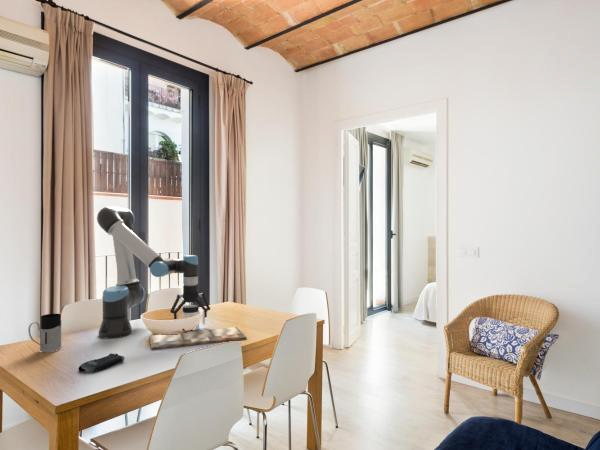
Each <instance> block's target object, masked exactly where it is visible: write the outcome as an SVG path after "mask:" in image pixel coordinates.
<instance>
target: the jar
mask: <svg viewBox="0 0 600 450" xmlns="http://www.w3.org/2000/svg"><path fill="white" fill-rule="evenodd" d="M199 309H200V308H199V305H197V304H187V305H183V306H182V311H181V319H182V318H187V317H192V316H196V315H197V314H199V315H200V311H199ZM199 329H200V323H199V324H198V325H197V326H196V328H195V329H194V330H193V331H198V330H199Z"/></svg>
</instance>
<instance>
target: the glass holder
mask: <svg viewBox="0 0 600 450" xmlns="http://www.w3.org/2000/svg"><path fill="white" fill-rule="evenodd" d="M34 324H36V326H37V330H38V331H40V332H39V334H40V335H39V342H37V341H36V340H35V339H34V338H33V336H32V335H31V328H32V325H34ZM28 336H29V337H30V339H31V341H32V342H34V343H35V344H36V345H38V346H39V350H40V351H42V352H50V353H53V352H52V351H55V352H57V351H56V350H59V351H61V350H62V349H63V346H62V314H61V313H47V314H42V315H41V316H40V324H39V323H38V322H37V321H34V322H31V323H30V324H29V326H28ZM61 348H62V349H61ZM60 349H61V350H60Z"/></svg>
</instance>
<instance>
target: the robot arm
mask: <svg viewBox="0 0 600 450" xmlns="http://www.w3.org/2000/svg"><path fill="white" fill-rule="evenodd" d="M96 219H97V223H98V225H99V227H100V228H101V229H102V230H103V231H104V232H105V233H106V234H108V236H111V237H112V240H113V248H114V249H113V250H114V254H115V262H116V269H117V277H118V281H117V283H116V284H115V285H114V286H109V287H106V288H105V289H104V290H103V291H102V297H101V298H102V321H101V324H100V327H99V329H98V337H99V338H101V337H102V338H101V339H117V338H123V337H127V336H129V335H131V334H132V333H133V327H132V325H131V321H130V319H129V309H131V308H135V307H137V306H139V305H140V304H141V303H142V302H143V301H144V300H145V297H146V291H145V289H144V287H143V286H142V285H141V282H140V280H139V278H137V274H136V268H135V261H134V256H135V257H136V258H138V260H140V261H141V262H142V263H144V265H145V266H146V267H148V268H149V271H150V273H151V275H152V276H153V277H155V278H160V277H161V278H162V277H165V276H167V275H172V274H183V276H182V278H183V280H182V284H183V286H182V290H183V292H182V294H179V293H177V295H176V299H175V300H174V302H173V305H172V306H171V309H170V313H171V314H173V320H174V319H178V320H179V313H178V312H179V311H180V310H181V309H182V308H183V306H185V304H186V303H187V304H188V303H189V304H190V303H195V302H196V303H197V304H198V306H199V307H200V308H201V309H202V324H203V325H205V324H206V323H205V321H206V319H205V318H207V316H208V315H207V314H208V311H210V310H211V307H210V306H209V303H208V301H207V299H206V298H205V293H204V292H201V293H199V257H198V255H195V254H191V255H190V254H186V255H183V256H182V257H183V258H162V256H160V255H159V254H158V253H157V252H156V251H155V250H154V249H153V248H151V247H150V246H149V245H148V244H147V243H146V242H145V241H144V240H143V239H141V238H140V237H139V236H138V235H137V234H136V233H135V232H133V225H134V224H135V221H136V217H135V214H134V213H133V212H132V210H131V209H129V208H127V207H122V206H105V207H103V208H101V209H100V210H99V211H98V212H97V216H96ZM199 297H200V298H201V299H202V301H203V303H204V305H205V306H204V305H203V304H202V303H201V302H200V300H198V298H199ZM182 298H183V299H182ZM181 299H182V301H181V302H180V303H179V301H180V300H181ZM178 303H179V304H178ZM177 305H178V306H177ZM176 307H177V308H176Z"/></svg>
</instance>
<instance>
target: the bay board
mask: <svg viewBox="0 0 600 450" xmlns="http://www.w3.org/2000/svg"><path fill="white" fill-rule="evenodd" d="M186 332H187V333H183V334H178V335H161V334H153V335H149V343H150V344H151V345H150V344H149V345H150V349H151V351H153V350H162V349H172V348H180V347H181V348H182V347H188V346H191V347H192V346H198V345H199V346H200V345H208V343H209V344H215V343H216V342H217V343H226V341H227V342H235V341H234V340H236V341H242V340H243V339H244V340H247V339H248V338H247V336H246V335H245V334H244V333H243V332H242V331H241V330H240V329H239V328H238V327H237V326H236V327H234V326H233V327H224V328H214V329H213V328H211V329H205V330H204V329H203V330H195V331H186Z"/></svg>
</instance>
